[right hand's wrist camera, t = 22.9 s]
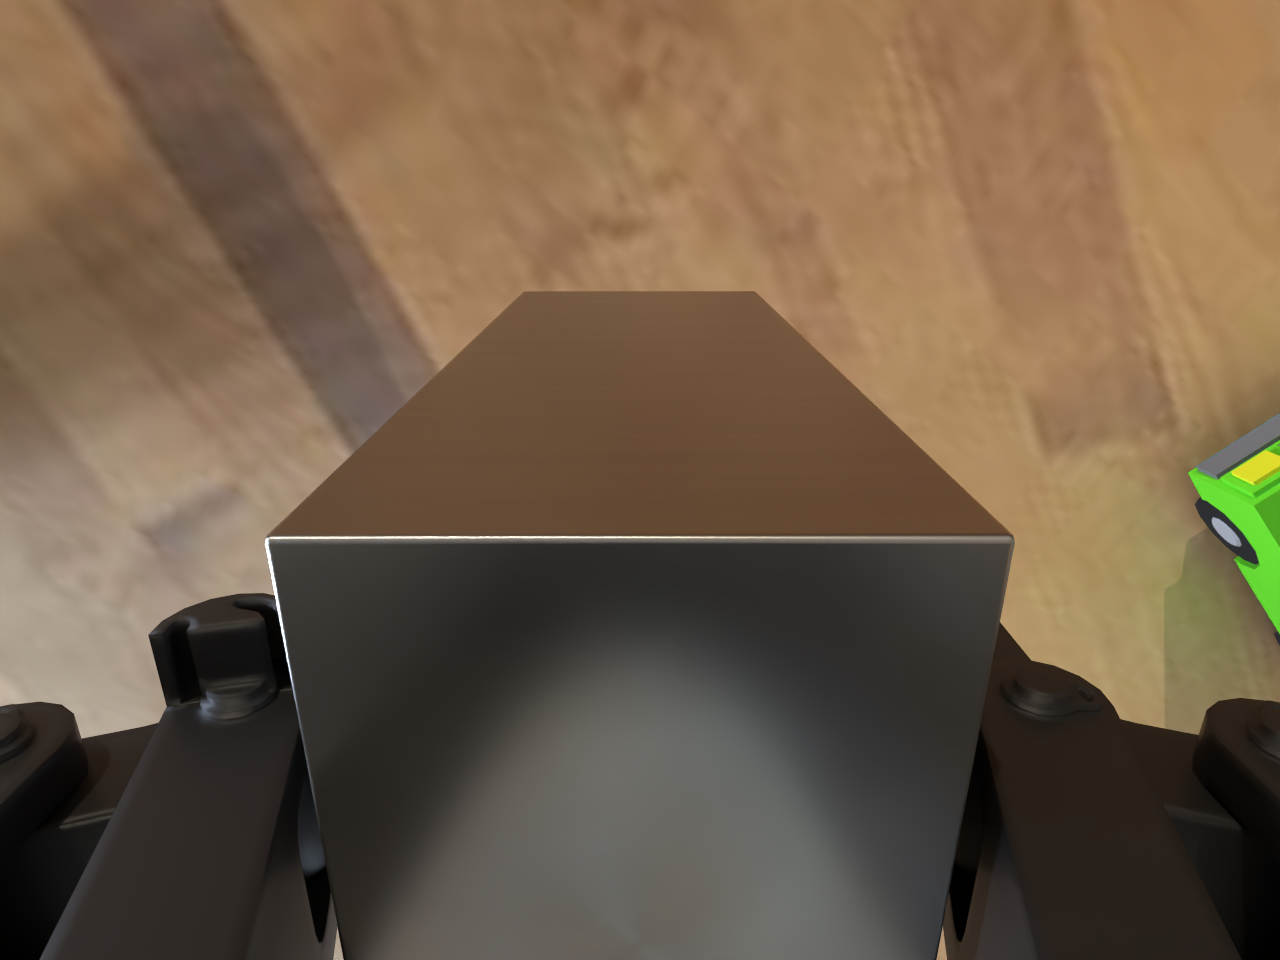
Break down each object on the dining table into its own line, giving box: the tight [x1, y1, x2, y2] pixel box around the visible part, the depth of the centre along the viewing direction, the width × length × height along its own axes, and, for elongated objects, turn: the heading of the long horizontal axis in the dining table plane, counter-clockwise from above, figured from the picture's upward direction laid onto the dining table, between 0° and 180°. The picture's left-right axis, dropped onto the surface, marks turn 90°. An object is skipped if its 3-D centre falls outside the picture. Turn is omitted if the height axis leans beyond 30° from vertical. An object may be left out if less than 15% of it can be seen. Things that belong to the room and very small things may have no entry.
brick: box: [265, 291, 1014, 960], centre depth 12 cm, size 5×7×12 cm
